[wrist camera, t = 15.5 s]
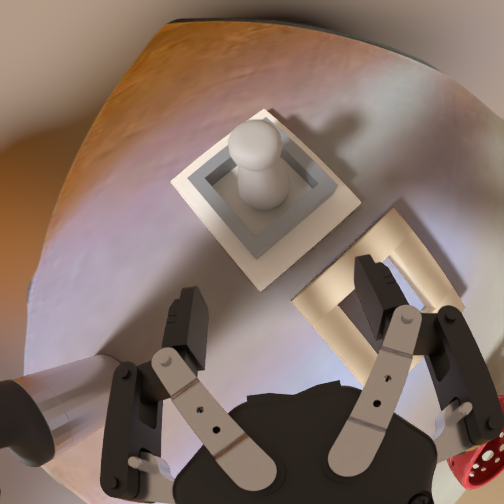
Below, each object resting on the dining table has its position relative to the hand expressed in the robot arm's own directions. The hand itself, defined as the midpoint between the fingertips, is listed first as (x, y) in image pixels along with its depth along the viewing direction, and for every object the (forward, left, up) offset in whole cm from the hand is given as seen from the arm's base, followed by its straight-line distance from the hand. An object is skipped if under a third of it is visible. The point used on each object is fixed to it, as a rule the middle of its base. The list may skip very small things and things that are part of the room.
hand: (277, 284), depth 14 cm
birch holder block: (+8, -10, -19) cm, 22 cm away
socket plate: (+6, +10, -19) cm, 22 cm away
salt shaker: (+6, +9, -18) cm, 21 cm away
